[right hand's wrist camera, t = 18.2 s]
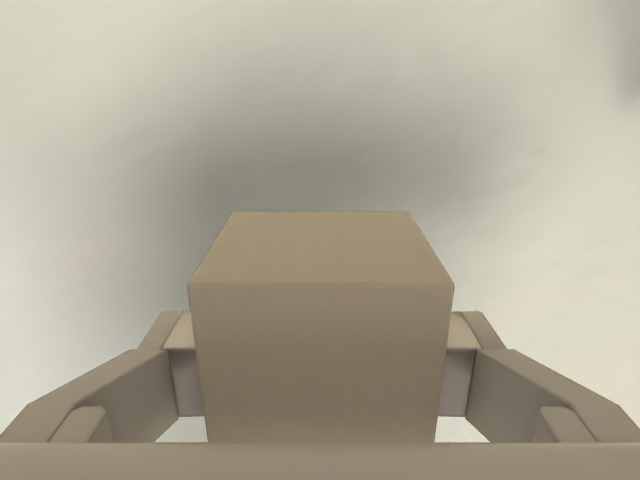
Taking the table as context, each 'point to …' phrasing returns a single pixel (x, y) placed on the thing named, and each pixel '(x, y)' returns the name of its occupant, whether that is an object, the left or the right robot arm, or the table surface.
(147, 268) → the table surface
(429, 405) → the block
